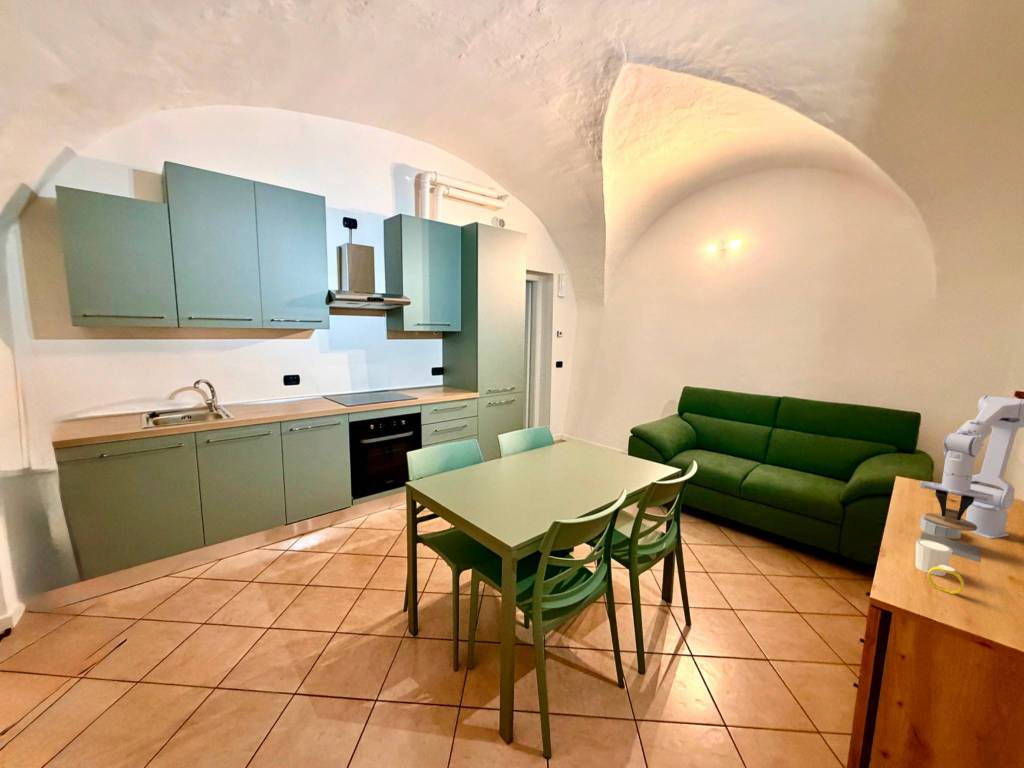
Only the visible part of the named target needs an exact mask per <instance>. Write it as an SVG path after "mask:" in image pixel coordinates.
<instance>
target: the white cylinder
mask: <svg viewBox="0 0 1024 768" xmlns="http://www.w3.org/2000/svg"><path fill="white" fill-rule="evenodd" d="M952 552H953V551H952V549H951V548H950V547H948V546H946V545H944V544H941V543H938V542H934V541H931V540H925V539H920V538H918V539H915V568H916V569H918V570H920V571H921V570H922V571H921V572H924V573H926V572H927V573H926V574H928V572H929V570H930V569H932V568H933V567H938V566H939V565H945V566H949V564H950V561H951V558H952V555H953V554H952ZM932 574H934V575H933V576H937V575H938V577H944V576H946V574H947V573H946V572H943V571H941V570H934V571H933V572H931V574H930V575H932Z"/></svg>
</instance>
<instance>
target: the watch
mask: <svg viewBox="0 0 1024 768" xmlns="http://www.w3.org/2000/svg"><path fill="white" fill-rule="evenodd" d="M934 570H941V571H943V572H946V574H951V575H954V576H955V577H956V578H958V580H959V583H960V587H959V588H958V589H955V590H954V589H953V590H951V589H948V588H945V587H942V586H938V585H937V584H936V583H934V581H933V579H932V578H931V575H932V574H931V572H933V571H934ZM927 581H928V583H929V584H930V585H931V586H932V587H933V589H935V590H938V591H942V592H945V593H948V594H950V595H955V594H960V593H961V592H962V591H963V590H964V588H965V586H964V585H965V581H964V579H963V577H962V576H961V575H960V574H959V573H958V572H957V571H956V569H955V568H953V567H950V566H949V565H948V566H945V565H939V566H938V567H933V568H932V569H930V570H929V572H928V573H927Z"/></svg>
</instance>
